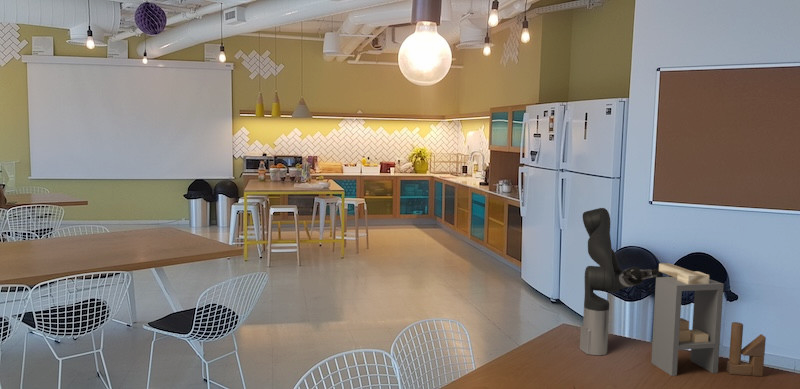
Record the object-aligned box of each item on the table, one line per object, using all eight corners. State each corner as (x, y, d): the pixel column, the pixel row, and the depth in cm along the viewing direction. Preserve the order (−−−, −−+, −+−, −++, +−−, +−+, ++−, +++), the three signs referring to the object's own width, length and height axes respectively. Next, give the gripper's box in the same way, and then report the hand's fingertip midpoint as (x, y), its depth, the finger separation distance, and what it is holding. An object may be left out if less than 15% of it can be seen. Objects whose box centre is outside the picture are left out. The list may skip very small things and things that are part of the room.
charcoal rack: (671, 375, 208) (676, 285, 205) (651, 362, 219) (656, 277, 216) (717, 372, 211) (723, 283, 208) (695, 360, 223) (700, 275, 219)
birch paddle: (688, 284, 206) (688, 275, 206) (653, 271, 226) (654, 263, 226) (708, 283, 208) (709, 275, 208) (672, 270, 227) (673, 263, 227)
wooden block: (763, 376, 208) (766, 326, 206) (730, 374, 209) (733, 324, 208) (758, 372, 212) (762, 323, 210) (726, 370, 213) (729, 321, 211)
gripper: (613, 268, 255) (629, 262, 239) (646, 268, 255) (664, 261, 240) (616, 286, 252) (632, 281, 237) (648, 285, 253) (667, 280, 238)
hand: (648, 271), depth 238 cm, fingers open, 8 cm apart
